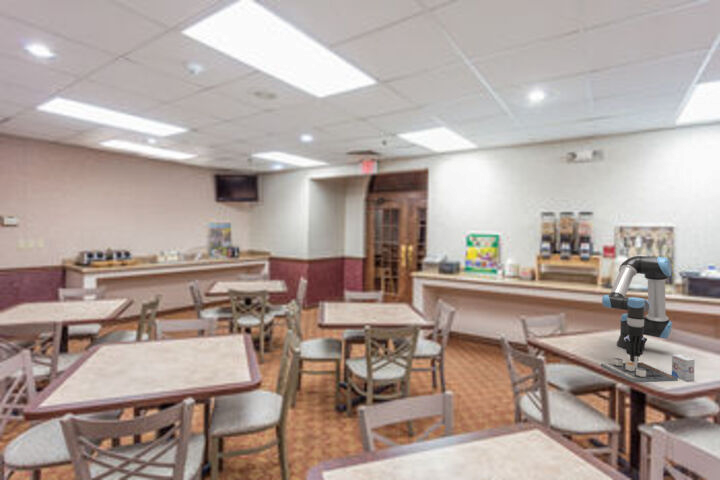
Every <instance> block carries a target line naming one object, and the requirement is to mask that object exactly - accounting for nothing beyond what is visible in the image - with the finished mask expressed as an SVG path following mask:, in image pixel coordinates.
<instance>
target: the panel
mask: <svg viewBox="0 0 720 480" xmlns="http://www.w3.org/2000/svg"><path fill="white" fill-rule="evenodd" d="M626 363H627V362H623V366H617V365H615V364H614V362H610V363H607V362H604V363H600V367H602V368H604V369H606V370H608V371H609V372H611V373H613V374H616V375H618V376H619V377H622V378H623V379H625V380H627V381H629V382H631V383H647V382H648V383H649V382H652V383H653V382H677V381H678V380H679V378H677V377H675V376H673V375H672V374H670V373H667V372H665V371H662V370H660V369H658V368H656V367H654V366H651V365H648V364H646V363H644V362H638V363H637V368H642V369H645V370H646V377H640V376H638V375H636V369H637V368H635V371H629V370H627V369H625V367H626Z"/></svg>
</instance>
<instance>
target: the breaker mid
mask: <svg viewBox="0 0 720 480" xmlns="http://www.w3.org/2000/svg"><path fill="white" fill-rule="evenodd" d="M625 363H626V367H625V369H627V370H629V371H635V365H634V364H632V363H631V362H625Z"/></svg>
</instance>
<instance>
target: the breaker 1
mask: <svg viewBox="0 0 720 480" xmlns="http://www.w3.org/2000/svg"><path fill="white" fill-rule="evenodd" d="M613 363H614V364H615V365H617V366H623V363H624V360H623V359H622V358H620V357H614V358H613Z"/></svg>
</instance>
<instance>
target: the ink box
mask: <svg viewBox="0 0 720 480" xmlns="http://www.w3.org/2000/svg"><path fill="white" fill-rule="evenodd" d="M671 375H672V376H674V377H677V378H678V380H682V381H683V382H684V381H685V382H694V381H695V359H693V358H691V357H689V356H685V355H684V354H680V353H679V354H677V353H676V354H672V355H671Z"/></svg>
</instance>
